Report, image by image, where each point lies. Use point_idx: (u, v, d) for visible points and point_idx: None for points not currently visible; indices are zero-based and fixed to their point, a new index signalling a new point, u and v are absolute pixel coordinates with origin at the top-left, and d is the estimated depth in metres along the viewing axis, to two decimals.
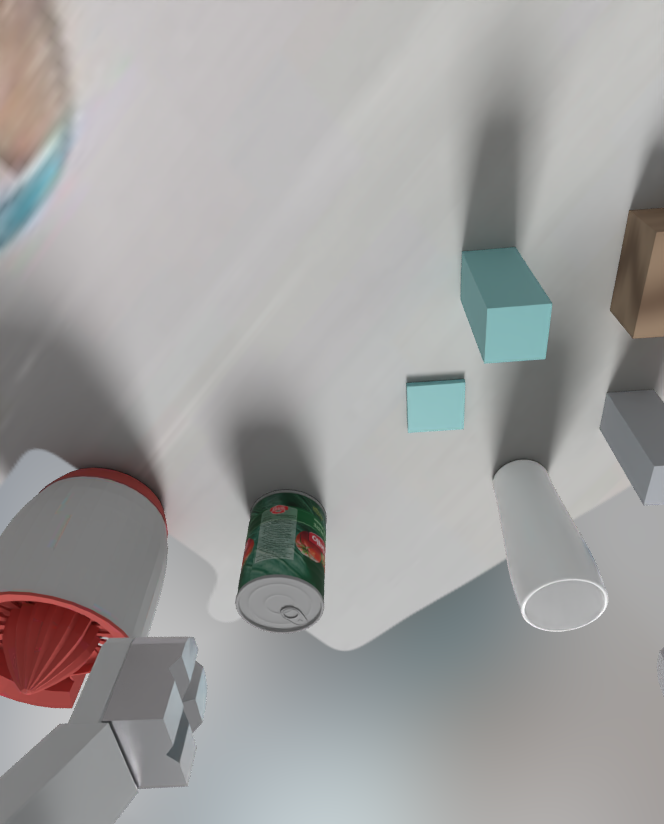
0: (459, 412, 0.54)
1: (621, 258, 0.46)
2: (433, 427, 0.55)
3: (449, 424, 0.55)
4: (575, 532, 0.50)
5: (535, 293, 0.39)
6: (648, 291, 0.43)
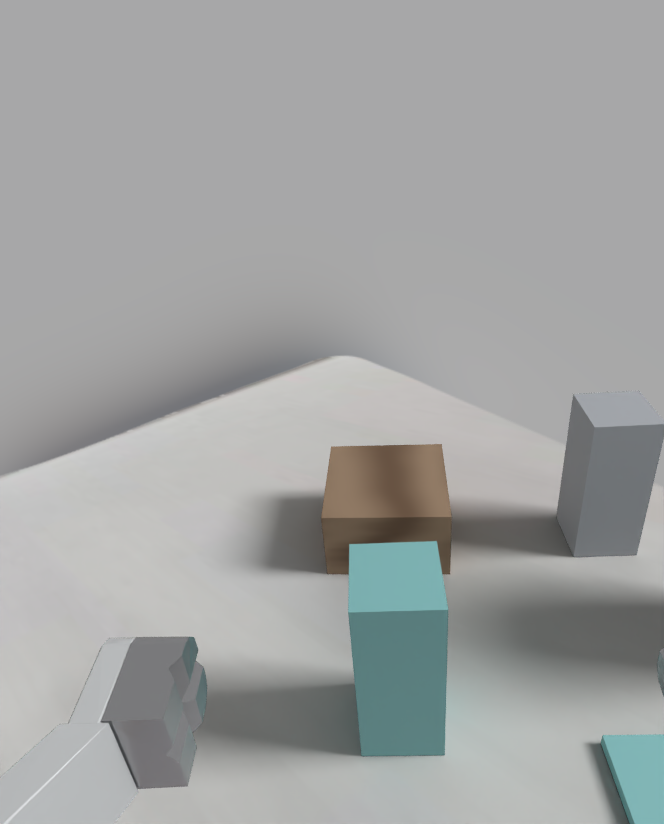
0: None
1: None
2: None
3: None
4: None
5: None
6: (390, 513, 0.38)
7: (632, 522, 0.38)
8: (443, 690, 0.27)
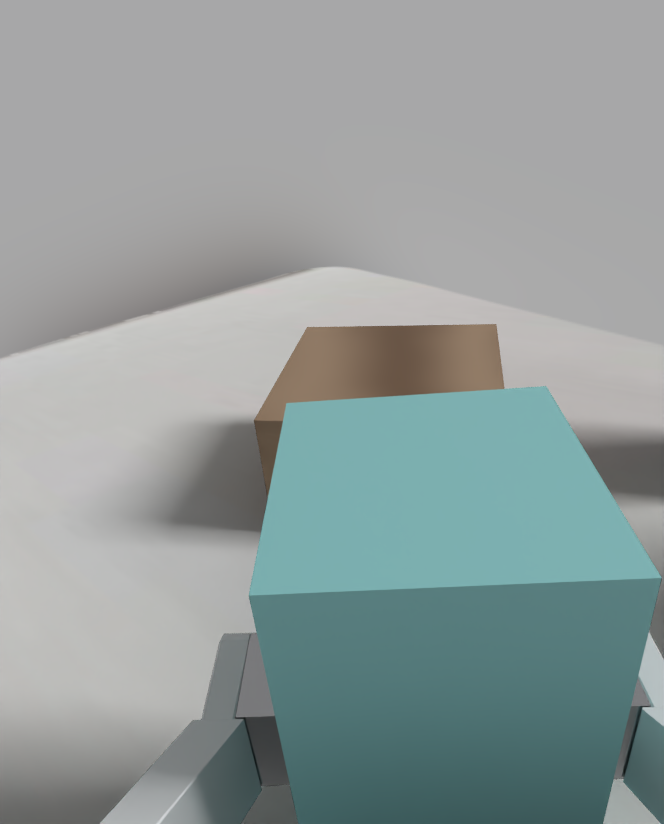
0: None
1: None
2: None
3: None
4: None
5: None
6: None
7: None
8: None
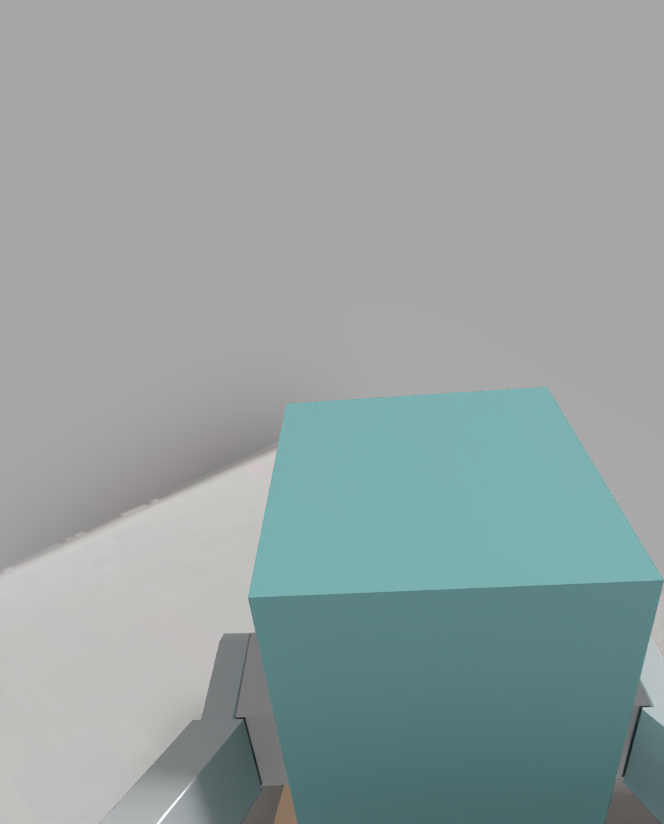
0: None
1: None
2: None
3: None
4: None
5: None
6: None
7: None
8: None
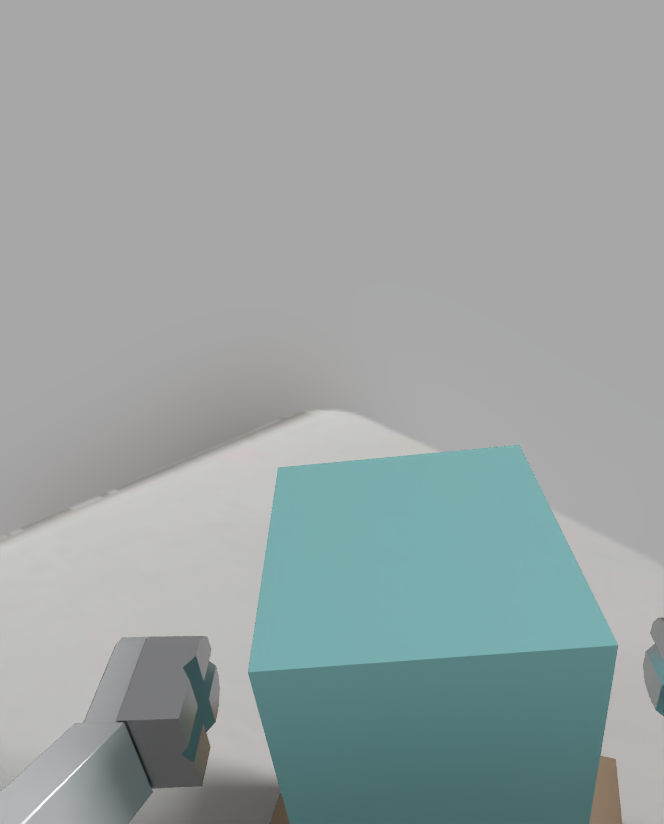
0: None
1: None
2: None
3: None
4: None
5: None
6: None
7: None
8: None
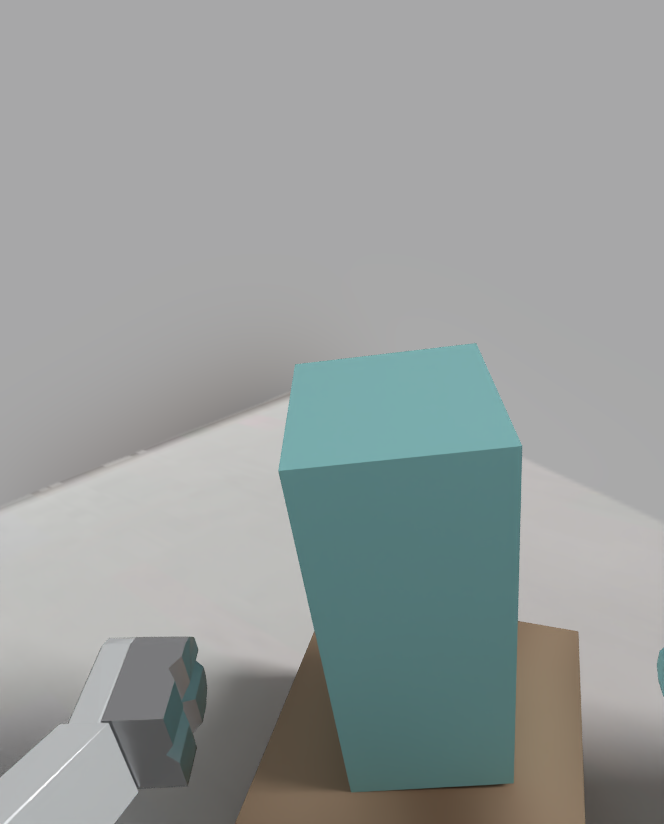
0: None
1: None
2: None
3: None
4: None
5: None
6: None
7: None
8: (511, 652, 0.12)
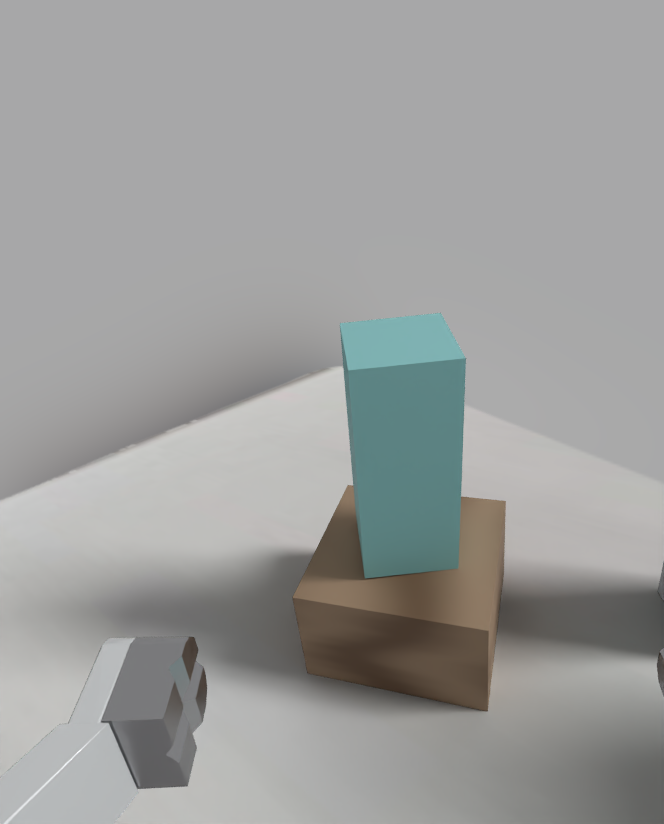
0: None
1: (382, 685, 0.27)
2: None
3: None
4: None
5: None
6: (393, 608, 0.24)
7: None
8: (458, 477, 0.23)
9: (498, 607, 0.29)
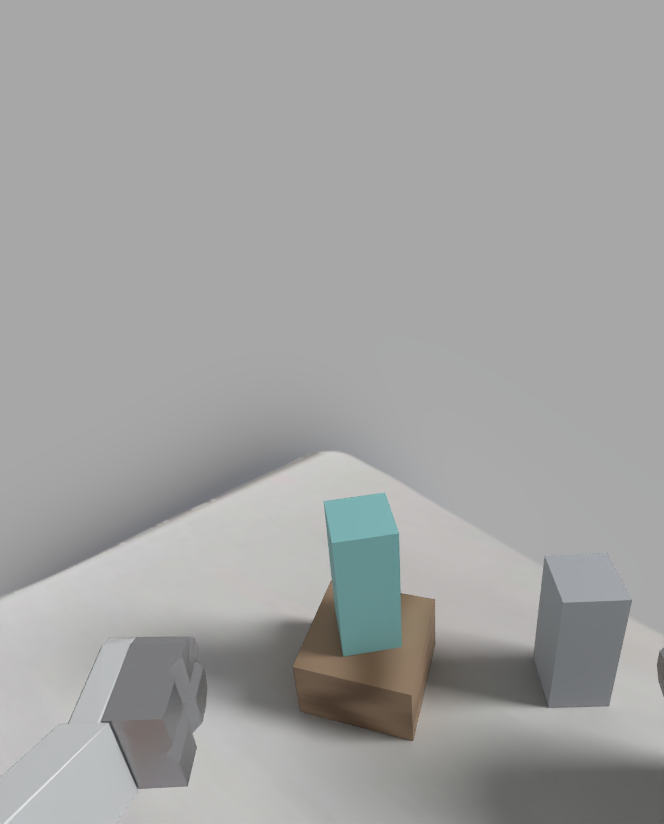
0: None
1: (348, 722, 0.41)
2: None
3: None
4: None
5: None
6: (355, 677, 0.39)
7: (603, 679, 0.40)
8: (398, 595, 0.39)
9: (427, 670, 0.44)
